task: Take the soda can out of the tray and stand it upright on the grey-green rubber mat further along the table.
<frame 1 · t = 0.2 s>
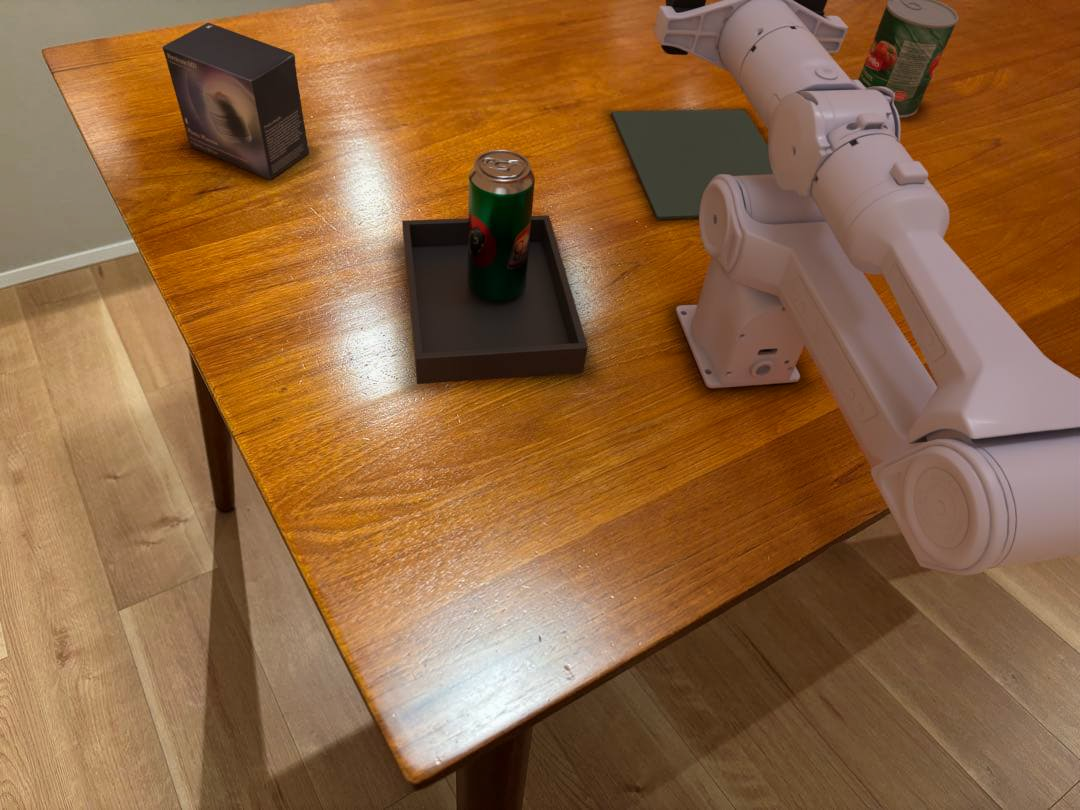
small box: (249, 152, 82), on the table
canned tomato: (884, 103, 100), on the table
soda can: (496, 288, 71), resting on tray
tray: (487, 305, 70), on the table
mat: (704, 161, 88), on the table
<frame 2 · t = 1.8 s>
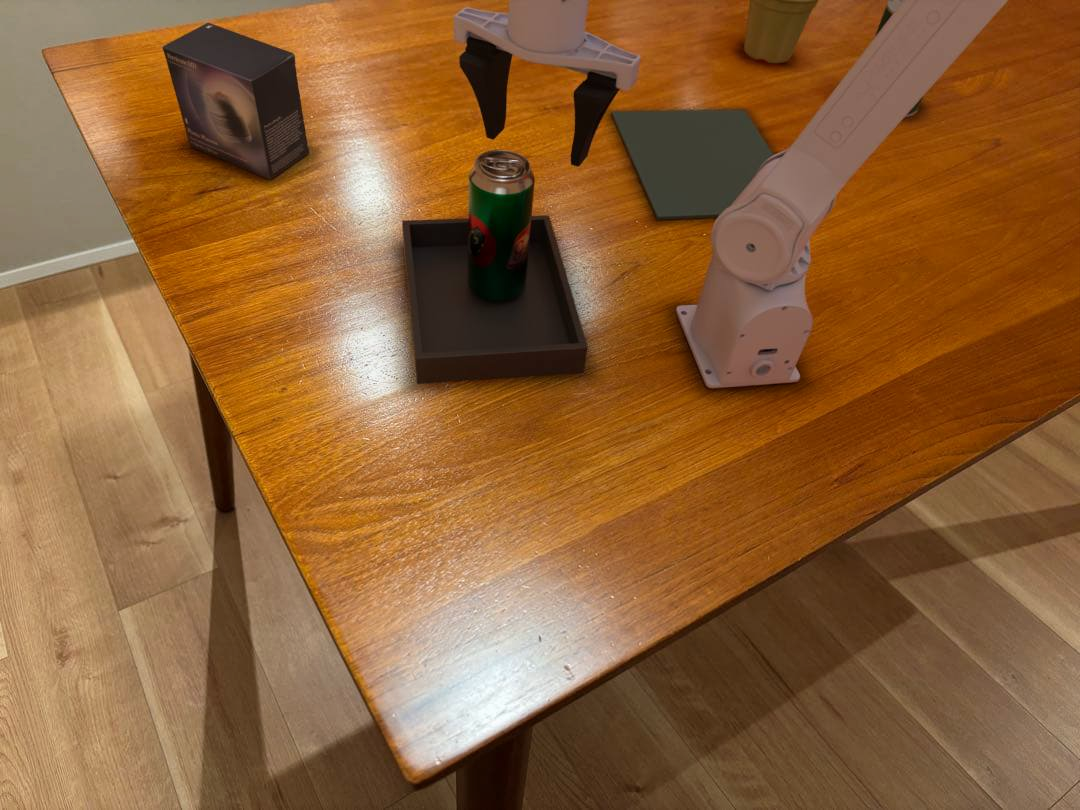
hand: (536, 146, 68), 10 cm above the table, tool pointing down, fingers open, 7 cm apart
nothing on the table moved.
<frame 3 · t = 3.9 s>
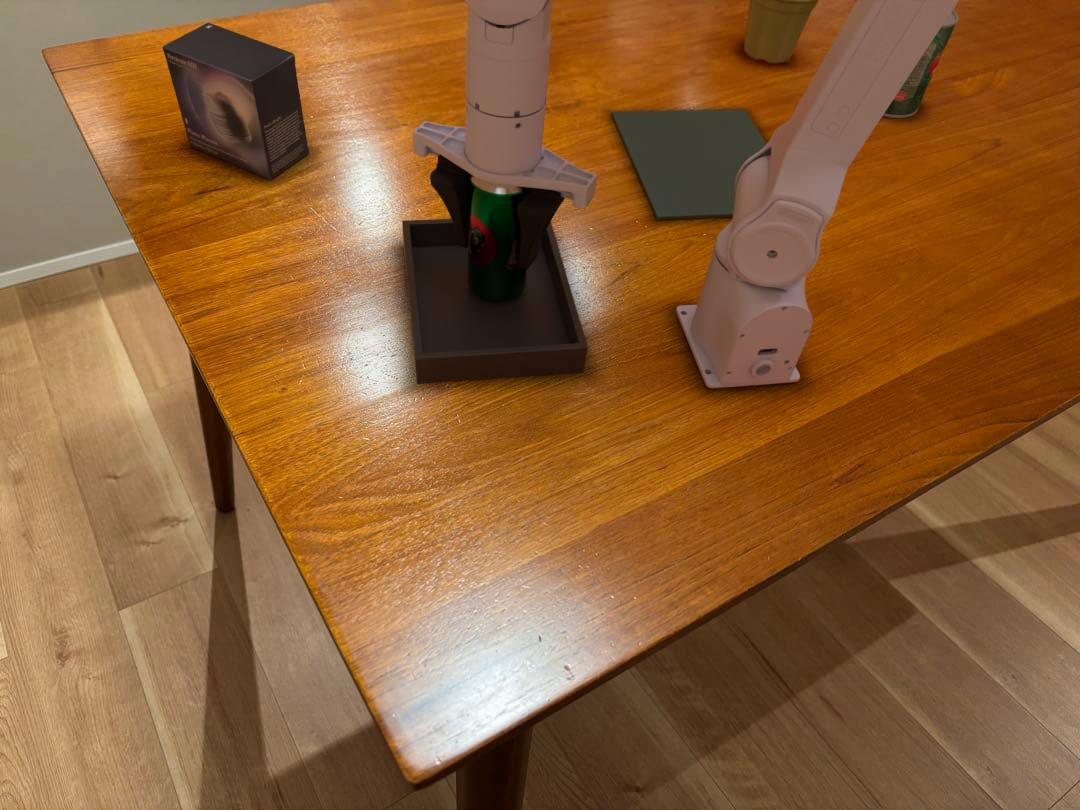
hand: (498, 251, 68), 4 cm above the table, tool pointing down, fingers closed on soda can, 5 cm apart
soda can: (496, 288, 71), resting on tray, touching gripper
everything else where it was.
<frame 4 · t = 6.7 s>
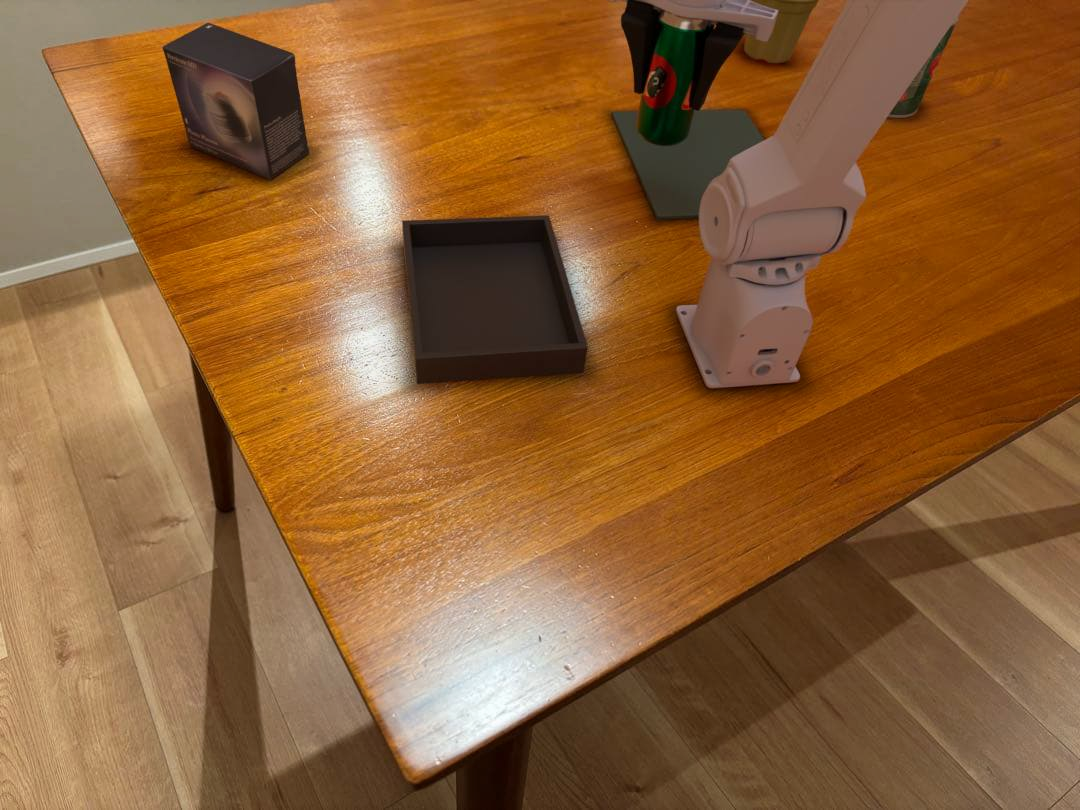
hand: (669, 97, 75), 10 cm above the table, tool pointing down, fingers closed on soda can, 5 cm apart
soda can: (660, 136, 78), point 6 cm above the table, touching gripper
everything else where it was.
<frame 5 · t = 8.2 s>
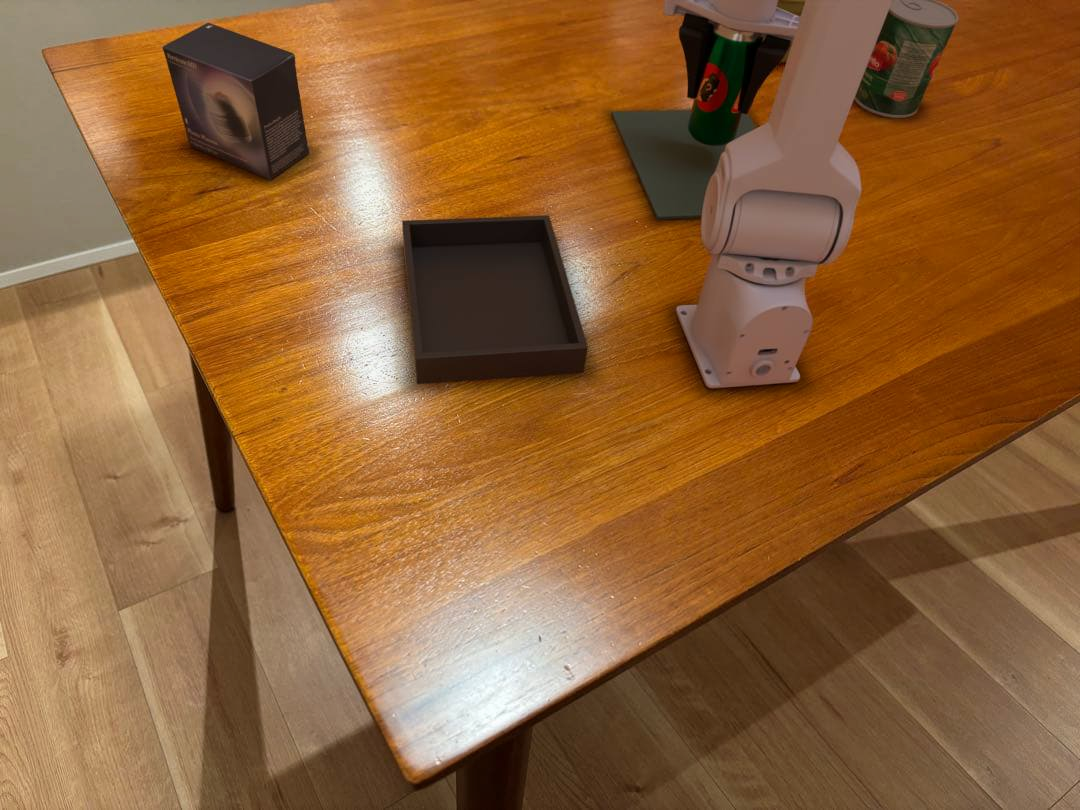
hand: (719, 101, 83), 7 cm above the table, tool pointing down, fingers closed on soda can, 5 cm apart
soda can: (710, 137, 85), point 3 cm above the table, touching gripper
everything else where it was.
when the fingers open (4 cm above the table, at t = 9.5 s): soda can stays where it is, resting on mat.
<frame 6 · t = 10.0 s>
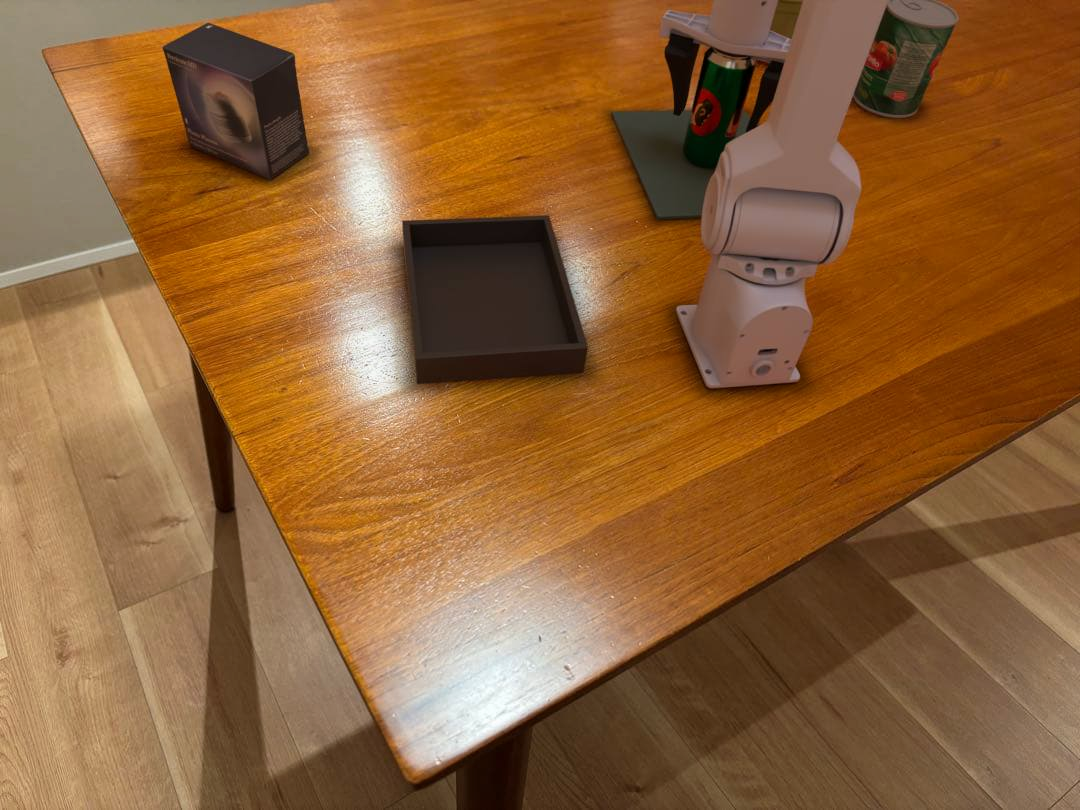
hand: (714, 121, 84), 5 cm above the table, tool pointing down, fingers open, 7 cm apart
soda can: (704, 159, 87), resting on mat
everything else where it was.
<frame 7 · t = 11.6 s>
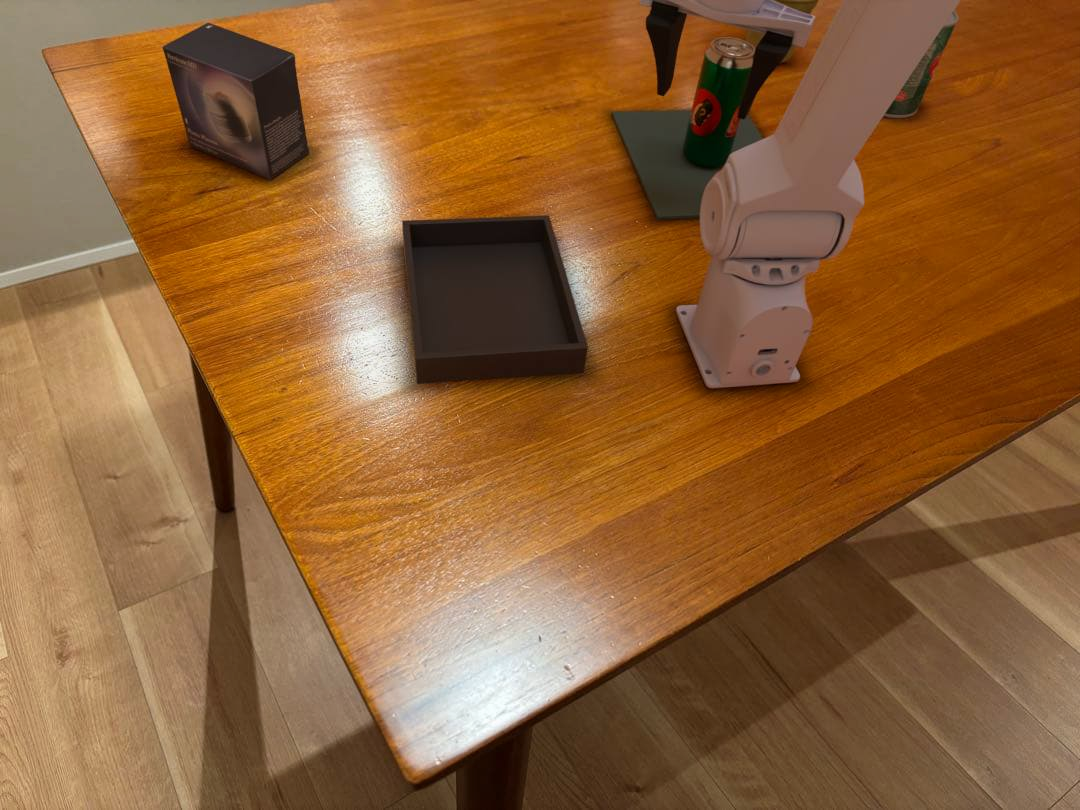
hand: (703, 102, 75), 10 cm above the table, tool pointing down, fingers open, 7 cm apart
nothing on the table moved.
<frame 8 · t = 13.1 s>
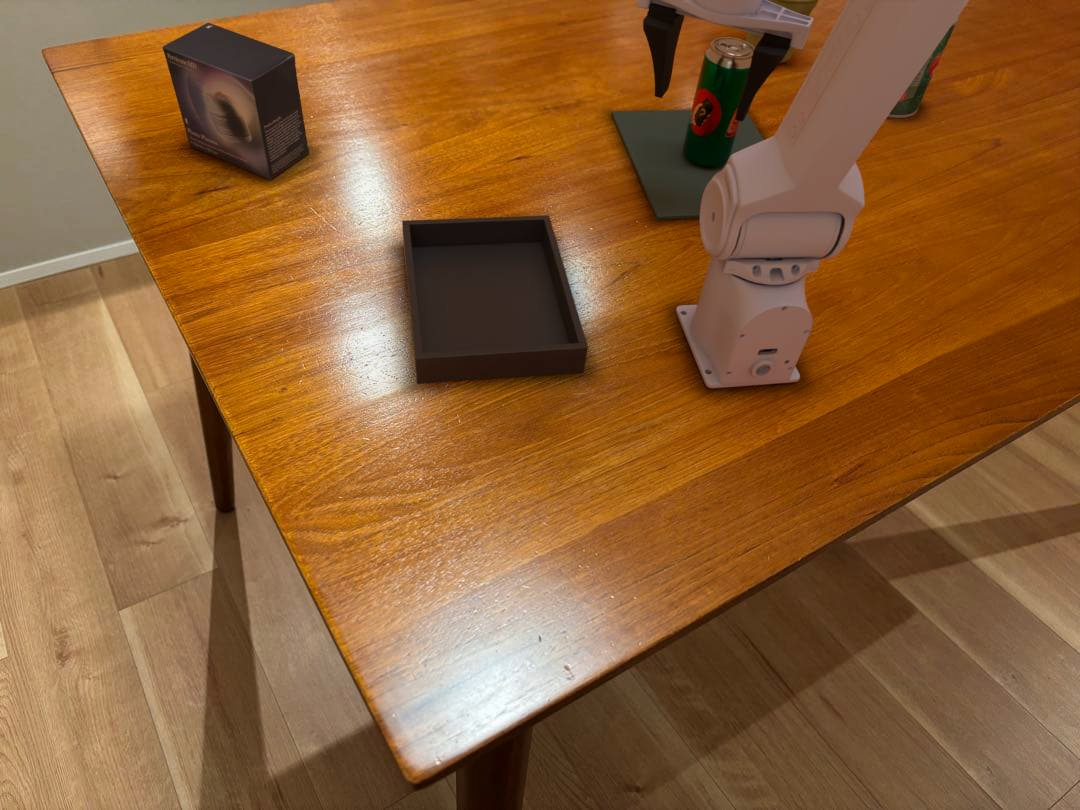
hand: (700, 104, 74), 10 cm above the table, tool pointing down, fingers open, 7 cm apart
nothing on the table moved.
at the end: soda can inside the target area on the mat (0.0 cm from its centre), point 0.2 cm above the mat's base; soda can tilted 0°; soda can touching mat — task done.
